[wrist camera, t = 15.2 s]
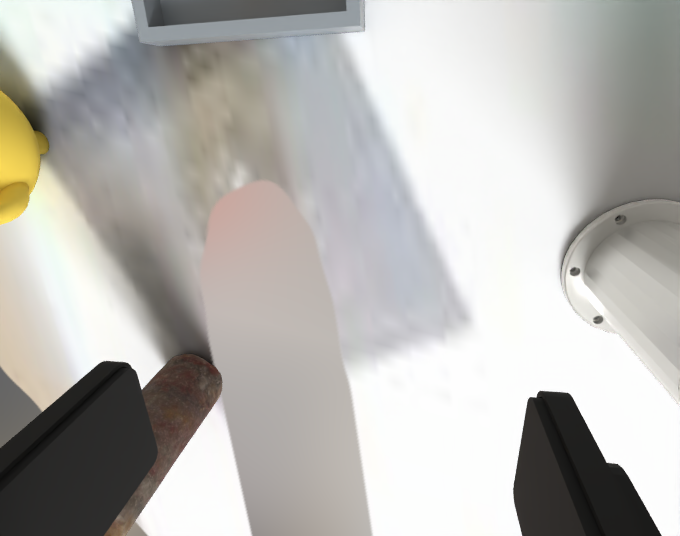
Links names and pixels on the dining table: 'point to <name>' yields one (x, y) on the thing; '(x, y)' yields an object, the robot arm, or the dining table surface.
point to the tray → (242, 19)
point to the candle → (171, 423)
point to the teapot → (17, 159)
